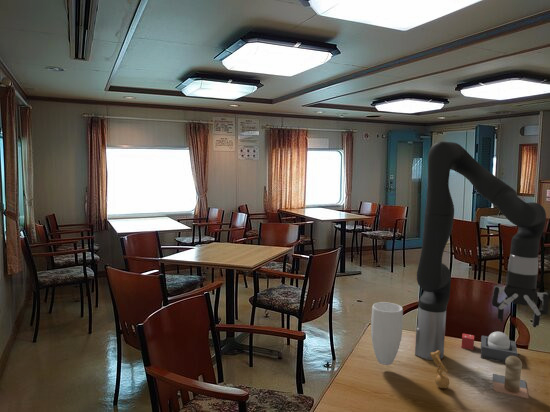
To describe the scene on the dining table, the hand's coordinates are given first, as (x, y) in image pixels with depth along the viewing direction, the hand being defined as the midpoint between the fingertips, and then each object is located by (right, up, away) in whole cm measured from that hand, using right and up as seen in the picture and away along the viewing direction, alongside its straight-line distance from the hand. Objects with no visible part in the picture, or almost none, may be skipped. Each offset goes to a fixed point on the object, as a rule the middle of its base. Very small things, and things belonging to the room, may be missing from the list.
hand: (517, 323), depth 123 cm
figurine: (-22, -21, +3) cm, 31 cm away
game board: (0, -21, +5) cm, 21 cm away
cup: (-36, -19, +13) cm, 43 cm away
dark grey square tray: (+8, -19, +26) cm, 33 cm away
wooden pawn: (0, -21, +2) cm, 21 cm away
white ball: (+8, -17, +26) cm, 32 cm away
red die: (0, -18, +32) cm, 37 cm away
